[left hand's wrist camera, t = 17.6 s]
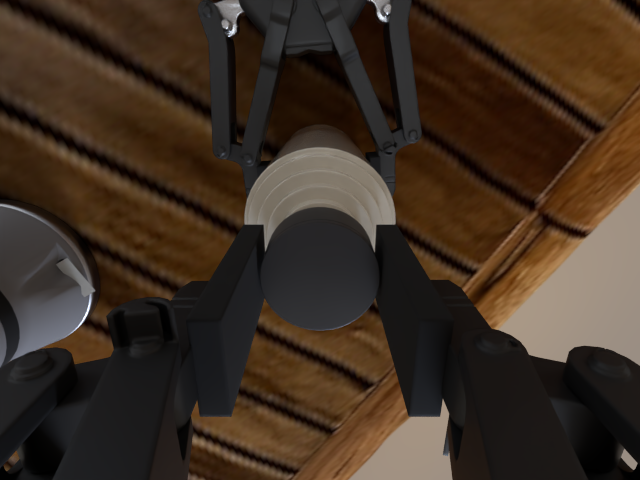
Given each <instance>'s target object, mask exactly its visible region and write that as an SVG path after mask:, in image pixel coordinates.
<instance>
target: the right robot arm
mask: <svg viewBox="0 0 640 480" xmlns="http://www.w3.org/2000/svg"><path fill="white" fill-rule="evenodd" d="M411 2H412V0H223V1H220V2H217V3H213V2H212V1H209V0H203V1H202V2H200V4H199V6H198V14H199V17H200V19H201V22H202V25H203V28H204V31H205V33H206V36H207V39H208V42H209V63H210V88H211V114H212V140H213V153H214V155H215V156H216V157H217V158H219V159H227V160H231V161H234V162H237V163H238V164H239V165H240V166H241V167H242V170H243V175H244V182H245V188H246V194H247V199H248V196H249V193H250V191H251V189H252V187H253V185H254V183H255V182H256V180H257V179H258V178H259V176H260V175H261V174H262V172H263V171H264V170H265V169H266V167H267V166H268V165H269V163H270V162H271V161H262V162H261V156H262V154H261V153H262V149H263V145H264V141H265V137H266V133H267V129H268V125H269V121H270V117H271V113H272V109H273V105H274V101H275V97H276V93H277V89H278V85H279V81H280V77H281V74H282V71H283V68H284V65H285V61H286V57H288V58H294V57H300V56H303V55H305V54H308V53H313V54H318V55H327V54H332V52H333V53H334V55H335V57H336V59H337V62H338V64H339V66H340V67H341V69H342V72H343V74H344V76H345V78H346V81H347V83H348V85H349V87H350V90H351V92H352V94H353V97H354V99H355V101H356V103H357V106H358V108H359V110H360V112H361V115H362V117H363V119H364V122H365V124H366V126H367V128H368V131H369V133H370V135H371V137H372V140H373V142H374V144H375V146H376V152H366V159H367V160H368V161H369V162H370V164H371V165H372V166H373V167H374V169H375V170H376V171H377V172H378V174H379V175H380V176H381V178H382V179H383V181H384V182H385V184H386V185H387V187H388V189H389V191H390V193H391V196H393V194H394V192H395V155H396V152H397V151H398V150H399V149H400V148H402V147H404V146H406V145H408V144H410V143H415V142H417V141H418V140H419V139H420V138H421V133H422V132H421V124H420V117H419V109H418V101H417V93H416V86H415V78H414V70H413V63H412V55H411V47H410V39H409V32H408V18H409V13H410V7H411ZM365 4H369V5H371V6H372V7H373V9H374V12H375V19H376V21H377V22H378V23H379V24H382V25H384V27H383V36H384V45H385V52H386V58H387V65H388V71H389V78H390V85H391V91H392V98H393V105H394V111H395V118H396V124H397V128H396V129H394V130H392V131H391V130H390V128H389V125H388V123H387V121H386V118H385V116H384V113H383V111H382V109H381V106H380V104H379V102H378V99H377V97H376V94H375V92H374V90H373V87H372V85H371V82H370V80H369V78H368V75H367V73H366V71H365V68H364V66H363V63H362V61H361V59H360V56H359V52H358V49H357V46H356V44H355V42H354V39H353V37H352V34H351V32H350V31H351V29H352V27H353V26H354V24H355V22H356V20H357V18H358V17H359V15H360V13H361V11H362V9H363V8H364V6H365ZM245 15H247V16H248V18H249V19H250V20H251V21H252V23H253V24H254V25H255V26H256V28H257V29H258V30H259V31H260V33H261V34H262V35H263V36H264V37H265V42H264V46H263V50H262V55H261V61H260V69H259V73H258V78H257V82H256V86H255V91H254V95H253V99H252V104H251V108H250V112H249V117H248V121H247V125H246V130H245V134H244V138H243V143H239V142H237V125H236V65H235V47H234V41H233V38H236V37H237V36H238V34H239V31H240V27H239V23H240V20H241V18H242V17H243V16H245Z"/></svg>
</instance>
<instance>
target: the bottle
mask: <svg viewBox="0 0 640 480" xmlns="http://www.w3.org/2000/svg"><path fill="white" fill-rule="evenodd" d="M312 207H328V208H333V209H337V210H340V211H342V212H344V213H347V214H348V215H350V216H352V217H353V218H354V219H355V220H357V221H358V222H359V223H360V224H361V225H362V227H363V228H364V229H365V231H366V232H367V234H368V236H369V238H370V241H371V244H372V247H373V249H374V252H375V239H376V225H395V222H396V221H395V208H394V203H393V199H392V196H391V193H390V191H389V189H388V187H387V185H386V184H385V182H384V181H383V179H382V178H381V176H380V175H379V174H378V172H377V171H376V170H375V169H374V167H373V166H372V165H371V164H370V162H369V161H368V160H367V159H366V157H365V156H364V155H363V154H362V152H361V151H360V150H359V148H358V147H357V146H356V145H355V143H354V142H353V141H352V140H351V139H350V138H349V136H348V135H346V134H345V133H344V132H343V131H341V130H339V129H337V128H335V127H332V126H329V125H311V126H307V127H305V128H302V129H301V130H299V131H297V132H296V133H295V134H293V135H292V136H291V137H290V138H289V140H288V141H287V142H286V143H285V145H284V146H283V147H282V148H281V150H280V151H279V152H278V153H277V155H276V156H275V157H274V158H273V160H272V161H271V162H270V163H269V165H268V166H267V167H266V169H265V170H264V171H263V172H262V174H261V175H260V176H259V178H258V179H257V180H256V182H255V183H254V185H253V187H252V189H251V191H250V193H249V196H248V199H247V203H246V207H245V216H244V222H245V225H264V239H265V251H266V248H267V246H268V243H269V240H270V238H271V236H272V234H273V232H274V230H275V229H276V228H277V226H278V225H279V224H280V223H281V222H282V221H283V220H284V219H286V218H287V217H288V216H290V215H292V214H293V213H295V212H297V211H300V210H303V209H307V208H312Z"/></svg>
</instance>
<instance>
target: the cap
mask: <svg viewBox="0 0 640 480" xmlns="http://www.w3.org/2000/svg"><path fill="white" fill-rule="evenodd" d="M260 284H261V289H262V292H263V295H264V297H265V299H266V301H267V303H268V304H269V306H270V307H271V308H272V309H273V311H274V312H275V313H276V314H278V315H279V316H280V317H281V318H282V319H284V320H285V321H287V322H289V323H291V324H293V325H295V326H298V327H301V328H304V329H309V330H331V329H336V328H339V327H342V326H345V325H347V324H349V323H351V322H353V321H354V320H356V319H357V318H359V317H360V316H361V315H362V314H363V313H364V312H365V311H366V310H367V309H368V308H369V307H370V305H371V304H372V302H373V301H374V299H375V297H376V294H377V292H378V288H379V284H380V269H379V264H378V261H377V258H376V255H375V252H374V249H373V247H372V244H371V241H370V238H369V236H368V234H367V232H366V231H365V229H364V228H363V227H362V225H361V224H360V223H359V222H358V221H357V220H355V219H354V218H353V217H352V216H350V215H348V214H347V213H344V212H342V211H340V210H337V209H333V208H328V207H312V208H307V209H303V210H300V211H297V212H295V213H293V214H292V215H290V216H288V217H287V218H286V219H284V220H283V221H282V222H281V223H280V224H279V225H278V226H277V228H276V229H275V230H274V232H273V234H272V236H271V238H270V240H269V243H268V246H267V248H266V251H265V254H264V257H263V260H262V263H261V267H260Z"/></svg>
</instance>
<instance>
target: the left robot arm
mask: <svg viewBox="0 0 640 480" xmlns="http://www.w3.org/2000/svg"><path fill="white" fill-rule="evenodd" d="M264 254H265V239H264V225H243V227H242V228H241V230H240V232H239V233H238V235H237V237H236V238H235V240H234V241H233V243H232V245H231V246H230V248H229V250H228V251H227V253H226V255H225V256H224V258H223V259H222V261H221V263H220V264H219V266H218V268H217V269H216V271H215V272H214V274H213V276H212V277H211V279H210V281H191V282H190V283H188V284H187V285H185V286H183V287H182V288H180V289H179V290H178V291H177V293H176V294H175V296H174V297H173V298H172V300H171V301H169V300H168V299H164V298H160V297H146V298H141V299H135V300H132V301H129V302H126V303H124V304H121V305H120V306H118V307H116V308H115V309H113V310H112V311H111V312H110V313H109V314H108V315H107V316H106V317H107V321H108V325H109V330H110V334H111V338H112V342H113V347H114V351H113V353H112V355H111V357H108V358H104V359H100V360H95V361H90V362H85V363H80V364H74V361H73V357H72V354H71V353H70V352H69V351H68V350H66V349H62V348H46V349H39V348H41V347H44V346H46V345H48V344H51V343H54V342H56V341H58V340H61V339H63V338H65V337H66V336H68V335H70V334H71V333H72V332H74V331H75V330H76V329H77V328H78V327H79V326H80V325H81V324H82V323H83V322H84V321H85V320H86V319H88V317H89V316H90V315H91V314H92V312H93V310H94V309H95V307H96V304H97V301H98V298H99V293H100V279H99V273H98V269H97V266H96V263H95V261H94V258H93V256H92V254H91V252H90V251H89V249H88V248H87V246H86V245H85V243H84V242H83V241H82V239H81V238H80V237H79V236H78V235H77V234H76V233H75V232H74V231H73V230H72V229H71V228H70V227H69V226H68V225H67V224H65V223H64V222H63V221H62V220H60V219H59V218H57V217H56V216H54V215H52V214H51V213H49V212H47V211H45V210H43V209H41V208H39V207H36V206H34V205H31V204H28V203H24V202H20V201H14V200H4V199H0V480H187V479H188V471H189V462H190V454H191V445H192V437H193V426H192V420H191V414H192V411H193V409H194V406H195V404H196V401H197V400H198V407H199V413H200V417H231V416H232V412H233V408H234V405H235V401H236V398H237V394H238V391H239V387H240V384H241V380H242V376H243V373H244V369H245V366H246V362H247V359H248V355H249V351H250V348H251V344H252V341H253V337H254V334H255V330H256V327H257V323H258V319H259V316H260V312H261V309H262V305H263V302H264V298H265V297H264V295H263V292H262V289H261V284H260V267H261V263H262V260H263V257H264ZM375 255H376V258H377V261H378V264H379V269H380V284H379V288H378V292H377V294H376V297H375V298H376V302H377V305H378V309H379V312H380V316H381V319H382V323H383V326H384V330H385V334H386V337H387V341H388V344H389V348H390V351H391V355H392V359H393V362H394V366H395V369H396V373H397V376H398V380H399V384H400V387H401V391H402V394H403V398H404V401H405V405H406V408H407V412H408V416H409V417H440V413H441V407H442V400H443V399H444V402H445V404H446V407H447V409H448V411H449V420H448V426H447V432H446V438H445V445H444V451H443V455H446V456H448V453H450V461H451V470H452V478H453V480H640V366H639V365H638V364H636V363H635V362H633V361H631V360H630V359H628V358H627V357H625V356H622V355H620V354H618V353H616V352H614V351H612V350H609V349H604V348H600V347H591V346H580V347H575V348H573V349H572V350H571V351H569V354H568V357H567V361H566V363H563V362H559V361H553V360H549V359H543V358H538V357H535V356H531V355H529V354H528V352H527V350H526V348H525V347H524V346H523V345H522V343H521V342H520V341H519V340H517V339H516V338H514V337H513V336H511V335H509V334H506V333H504V332H502V331H499V330H495V329H491V327H490V326H489V325H488V323H487V322H486V321H485V319H484V318H483V317H482V315H481V314H480V313H479V311H478V310H477V309H476V307H474V305H473V303H472V302H471V301H470V299H468V297H467V295H466V294H465V293H464V291H463V290H462V289H461V288H460V287H459V286H457V285H456V284H454V283H452V282H451V281H449V280H430V279H429V277H428V276H427V274H426V272H425V271H424V269H423V268H422V266H421V264H420V263H419V261H418V259H417V258H416V256H415V255H414V253H413V251H412V250H411V248H410V246H409V245H408V243H407V241H406V240H405V238H404V237H403V235H402V233H401V232H400V230H399V228H398V227H397V225H376V239H375ZM37 349H39V350H37ZM35 350H36V351H35ZM11 360H12V361H11ZM9 361H10V362H9ZM8 362H9V363H8ZM624 448H625V449H626V451H627V452H628V453H629V454H630V455H631V456H632V457H633V458H634V459H635V461H636V462H637V463H638V464H637V466H636V469H635V470H632V469H631V468H630V467H629V466H628V465H627V464H626V463H625V462H624V461H623V459H622V458H621V455H622V453H623V450H624ZM16 450H17V453H18V455H19V458H20V459H19V460H18V462H17V463H16V464H15V465H14V466H13V467H12V468H11V469H10V470H8V471H6V470H5V469H4V466H3V465H4V463H5V462H6V461H7V460H8V459H9V458H10V457H11V456H12V454H13V453H14V452H15V451H16Z"/></svg>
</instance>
